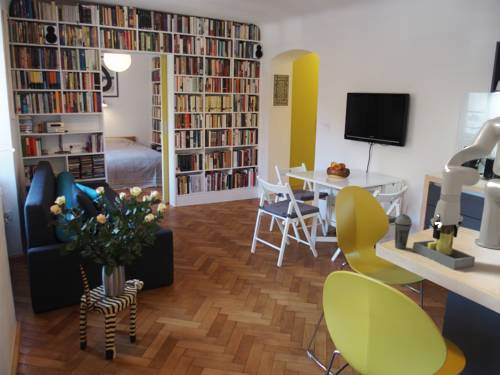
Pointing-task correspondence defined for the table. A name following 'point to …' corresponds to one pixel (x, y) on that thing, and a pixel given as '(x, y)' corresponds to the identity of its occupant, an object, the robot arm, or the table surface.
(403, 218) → the beverage cup
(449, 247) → the sauce bottle
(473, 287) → the table surface
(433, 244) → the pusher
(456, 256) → the grey tray
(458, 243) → the table surface
